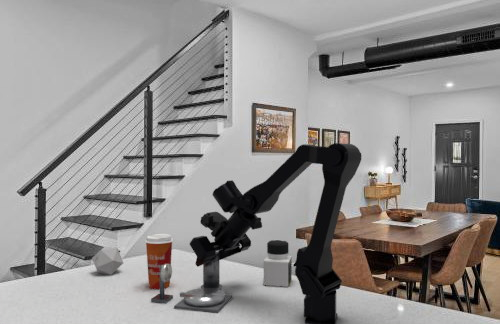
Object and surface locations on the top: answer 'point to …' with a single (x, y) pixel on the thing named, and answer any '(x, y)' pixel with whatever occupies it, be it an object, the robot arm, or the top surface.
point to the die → (107, 260)
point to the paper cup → (158, 257)
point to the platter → (203, 297)
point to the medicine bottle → (277, 264)
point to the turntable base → (204, 308)
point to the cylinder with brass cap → (212, 273)
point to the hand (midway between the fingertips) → (206, 262)
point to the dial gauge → (164, 277)
